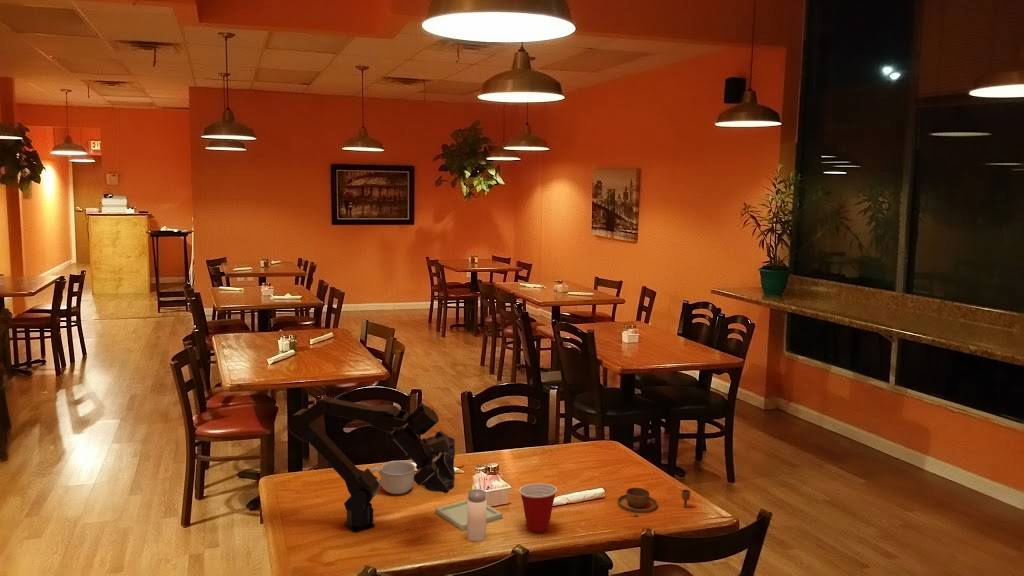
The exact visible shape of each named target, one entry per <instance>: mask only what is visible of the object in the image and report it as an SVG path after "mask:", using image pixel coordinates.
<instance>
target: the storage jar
mask: <svg viewBox="0 0 1024 576" xmlns="http://www.w3.org/2000/svg"><path fill="white" fill-rule="evenodd" d="M433 438H435V435H433V436H429V437H426V439H427V440H428V441H430V440H432V439H433ZM448 440H449V442H450V444H451V445H450V446H449V449H448V450H446V451H445V452H446V453H445V461H446V463H447V465H448V467H449V469H450V471H451V473H452V475H453V477H454V478H453V480H449V479H447V478H445V477H444V476H442V475H440V474H439V473H438V474H439V476H440V478H441V479H442V481H443V482H444V484H445V485H446V486H447V488H448V490H449V491H450V490H451V491H452V490H453V489H454V487H455V478H456V477H455V476H456V471H455V466H454V463H455V461H454V460H455V457H456V448H455V447H456V446H455V444H456V440H455V439H454V438H453V437H450V436H449V438H448ZM440 453H441V454H442V452H440ZM423 487H425V488H424V489H425V490H426V491H430V492H433V493H434V492H435V493H437V492H438V493H440V492H441V491H438V490H436V489H433V488H430V487H427V486H424V485H423ZM441 493H442V492H441Z"/></svg>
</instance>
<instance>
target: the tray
mask: <svg viewBox="0 0 1024 576" xmlns="http://www.w3.org/2000/svg"><path fill="white" fill-rule="evenodd" d="M467 500H468V499H464V500H461V501H458V502H454V503H450V504H447V505H443V506H440V507H436V508H435V514H436V515H437V516H439V517H440V518H442V519H443V518H444V520H445V521H447V522H448V523H450V524H451V525H453V526H454V527H456V528H457V527H458V528H457V529H458V530H460V531H462V532H463V531H467ZM501 519H503V513H502V512H501V511H499V510H497V509H495V508H493V507H492V506H490V505H488V504H487V503H486V524H489V523H492V522H495V521H499V520H501Z"/></svg>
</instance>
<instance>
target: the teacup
mask: <svg viewBox="0 0 1024 576" xmlns="http://www.w3.org/2000/svg"><path fill="white" fill-rule="evenodd" d="M415 467H416V465H415V463H414V464H413V463H412V462H410V461H406V460H391V461H386V462H385V463H383V464H382V465H381V466H380V467H377V466H376V467H373V468H371V469H370V471H371V473H372V474H373V475H374V472H377V473H378V474H379V476H380V479H379V478H377V479H376V480H377V481H378V483H379V487H380V486H381V487H382V488H383V490H385V492H387V493H388V494H391V495H397V494H398V495H403V494H407V492H409V491H410V490H411V489H412V488H413V487H414V484H415V481H414V475H415V473H416V468H415Z"/></svg>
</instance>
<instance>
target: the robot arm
mask: <svg viewBox="0 0 1024 576" xmlns="http://www.w3.org/2000/svg"><path fill="white" fill-rule="evenodd" d="M323 415H329V416H334V417H340V418H345V419H350V420H354V421H360V422H363V423H366V424H368V425H369V426H371V427H372V428H373V429H374V428H375V429H376V430H380V431H382V432H386V434H385V443H386V445H389V443H391V442H392V441H394V442H395V444H396V445H398V447H400V449H401V450H402V451H403V452H404V453H405V454H406V455H405V458H406V459H407V460H409V459H410V460H411V461H412V462H413V463H414V465H415V475H414V483H416V485H417V486H423V487H424V486H427V487H430V488H433V489H436V490H438V491H441V493H444V494H448V493H449V492H450V490H448V488H447V486H446V485H445V484H444V482H443V481H442V479H441V478H440V476H439V474H440V475H442V476H444V477H445V478H447V479H449V480H453V478H454V477H453V475H452V473H451V471H450V469H449V467H448V465H447V463H446V461H445V453H446V452H445V451H446V450H448V449H449V446H450V445H451V444H450V442H449V440H448V438H449V437H450V436H449V435H447V433H445V432H443V431H441V430H439V431H436V432H435V435H434V436H435V438H433V439H432V440H430V441H428V440H427V437H426V438H425V437H422V438H421V436H422V435H423V436H424V435H425V434H426V433H427V432H428V431H430V430H431V429H432V428H433V427H434V426H435V425H436V424H438V422H439V421H440V419H439V417H438V413H437V412H435V410H434V409H432V408H431V407H430V406H427V405H425V404H424V403H422V402H421V403H420V404H419V405H418V406H417V407H416V408H415V410H413V411H412V412H411V411H407V410H403V409H399V407H398V406H396V405H394V404H377V405H368V404H363V403H362V404H361V403H358V402H352V401H347V400H342V399H337V398H333V397H331V396H324V397H321V398H320V399H319V400H318V401H316V403H315V404H313V405H312V406H310V407H309V408H302V409H300V410H298V411H297V412H295V413H294V414H292V415H291V416H290V417H289V418H288V420H287V429H288V431H289V432H290V433H291V435H294V436H295V437H296V438H298V439H299V440H301V441H303V442H306V443H308V444H310V445H311V446H312V447H313V449H314V450H316V452H317V453H318V454H320V456H321V457H322V458H323V459H324V461H326V462H327V463H328V464H329V466H330V467H331V468H332V469H333V470H334V471H335V472H336V473H337V474H338V476H339V477H341V479H342V480H343V481H344V483H345V485H346V488H347V491H348V493H349V495H350V496H349V497H347V499H346V501H344V503H343V505H344V507H345V510H346V521H344V522H343V525H345V526H346V528H348V529H349V530H350V531H352V532H353V533H358V532H360V531H361V532H362V531H365V530H368V529H372V528H374V527H375V526H376V525H375V524H374V508H373V504H372V503H371V501H372V500H373V499H375V498H374V497H376V496H377V494H378V493H379V491H380V485H379V483H378V481H377V480H376V479H378V477H377V476H375V475H374V473H373V474H372V473H371V469H369V468H366V469H365V470H362V469H360V468H358V467H357V466H356V465H355V464H354V463H353V462H352V460H351V459H349V457H347V455H346V454H344V452H343V451H342V450H341V449H340V448H339V446H337V445H336V444H335V442H334V441H333V440H332V439H331V438H330V437H329V436H328V435H327V434H326V433H325V432H324V430H323V427H322V424H321V421H320V420H319V418H320V417H321V416H323ZM394 428H395V429H394ZM393 429H394V430H393ZM419 435H421V436H419ZM440 452H442V454H441V453H440ZM438 473H439V474H438Z"/></svg>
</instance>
